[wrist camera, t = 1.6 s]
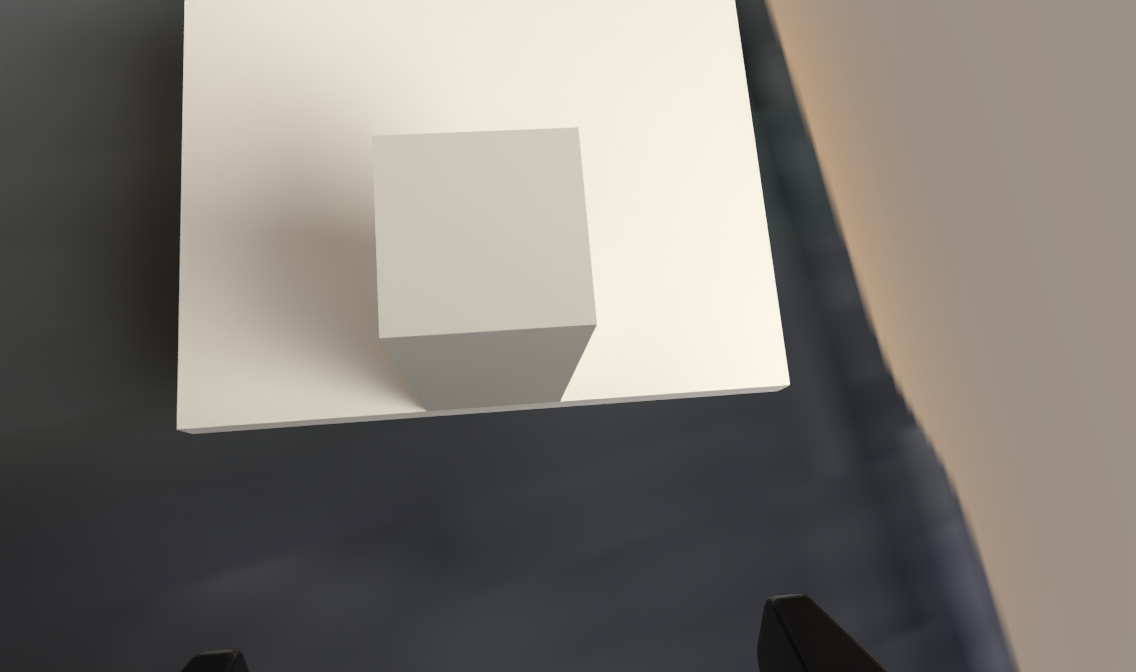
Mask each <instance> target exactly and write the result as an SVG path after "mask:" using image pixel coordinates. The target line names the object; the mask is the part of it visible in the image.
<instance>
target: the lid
mask: <svg viewBox="0 0 1136 672" xmlns="http://www.w3.org/2000/svg"><path fill="white" fill-rule="evenodd" d="M789 385H790V381H789V374H788V367H787V360H786V353H785V346H784V339H783V332H782V325H781V318H780V311H779V304H778V297H777V290H776V284H775V277H774V270H773V263H772V256H771V249H770V242H769V235H768V228H767V221H766V214H765V207H764V200H763V193H762V186H761V179H760V172H759V165H758V158H757V151H756V144H755V137H754V130H753V123H752V116H751V109H750V103H749V96H748V89H747V82H746V75H745V68H744V61H743V54H742V47H741V40H740V33H739V26H738V19H737V12H736V5H735V0H185V3H184V58H183V113H182V168H181V223H180V279H179V334H178V389H177V430H180V431H184V432H187V433H190V434H199V433H212V432H226V431H240V430H253V429H267V428H281V427H294V426H308V425H322V424H335V423H349V422H363V421H376V420H390V419H404V418H417V417H431V416H445V415H458V414H472V413H486V412H499V411H513V410H527V409H540V408H554V407H568V406H581V405H595V404H609V403H622V402H636V401H650V400H663V399H677V398H691V397H704V396H718V395H732V394H745V393H759V392H773V391H779V390H781V389H783V388H785V387H787V386H789Z"/></svg>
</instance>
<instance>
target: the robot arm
mask: <svg viewBox="0 0 1136 672" xmlns="http://www.w3.org/2000/svg"><path fill="white" fill-rule="evenodd" d="M757 656H758V664H759V669H760V672H888V671H887V670H886V669H885V668H884V667H883V666H882V665H881V664H880V663H879V662H878V661H877V660H876V659H875V658H874V657H873V656H871V655H870V654H869V653H868V652H867V651H866V650H865V649H864V648H863V647H862V646H861V645H860V644H859V643H858V642H857V641H856V640H855V639H854V638H853V637H851V636H850V635H849V634H848V633H847V632H846V631H845V630H844V629H843V628H842V627H841V626H840V625H839V624H838V623H837V622H836V621H835V620H834V619H833V618H832V617H830V616H829V615H828V614H827V613H826V612H825V611H824V610H823V609H822V608H821V607H820V606H819V605H818V604H817V603H816V602H815V601H814V600H812V599H811V598H810V597H808V596H807V595H804V594H799V593H797V594H787V595H776V596H771V597H769V598H768V599H767V601H766V603H765V606H764V611H763V617H762V622H761V628H760V633H759V639H758V645H757ZM181 672H249V670H248V668H247V665H246V662H245V659H244V656H243V654H242V653H241V652H240V651H239V650H237V649H225V650H214V651H205V652H201V653H199V654H197V655H195V656H194V657H193V658H192V659H191V660H190V661H189V662H188V663H187V664H186V666H185V667H184V668H183V669H182V671H181Z"/></svg>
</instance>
